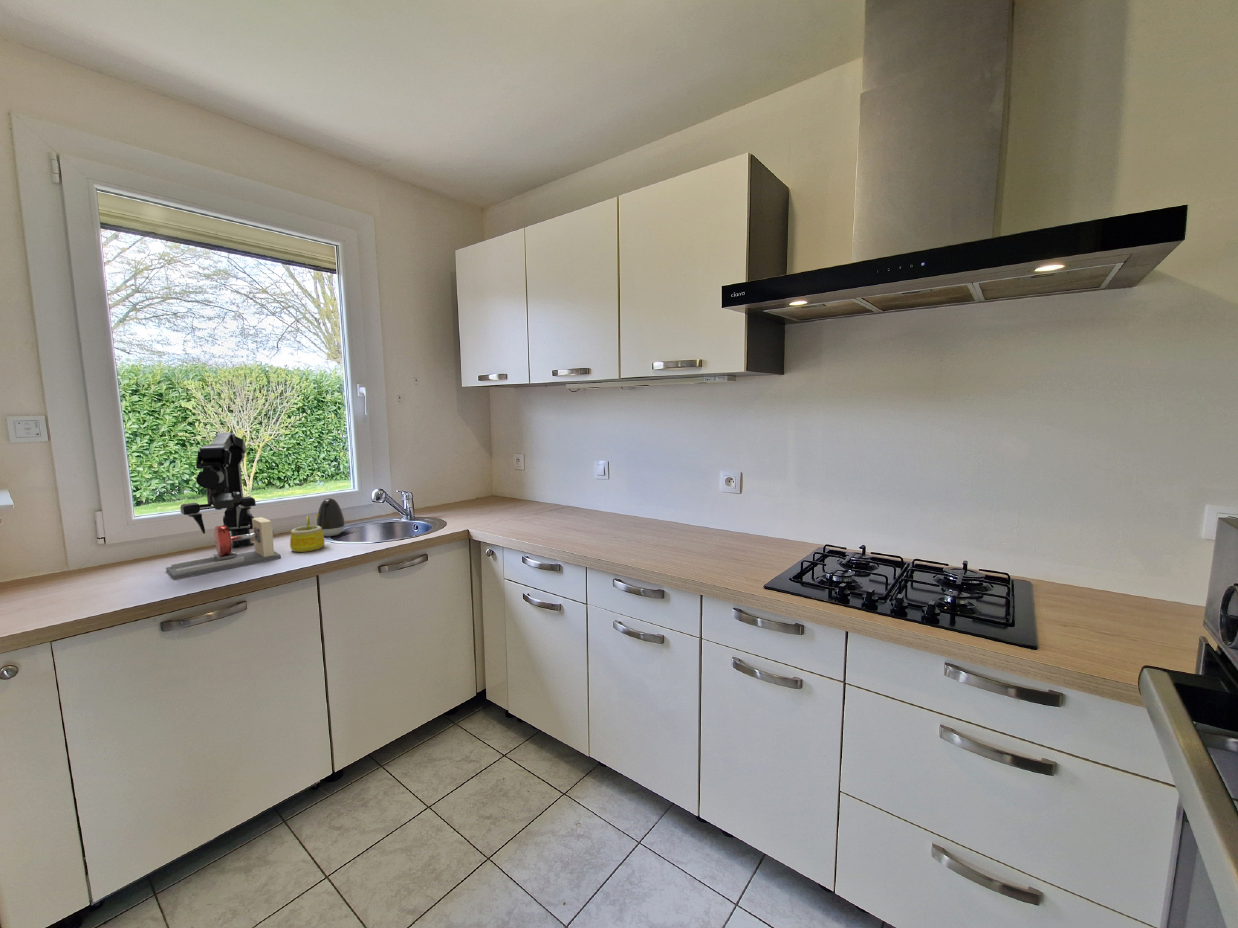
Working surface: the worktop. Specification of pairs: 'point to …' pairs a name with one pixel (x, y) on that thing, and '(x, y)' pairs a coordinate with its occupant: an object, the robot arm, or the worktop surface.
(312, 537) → the yellow birthday cake
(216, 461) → the robot arm
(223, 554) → the red wheel on axle
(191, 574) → the block
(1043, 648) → the worktop surface
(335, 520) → the dark grey tall dome
